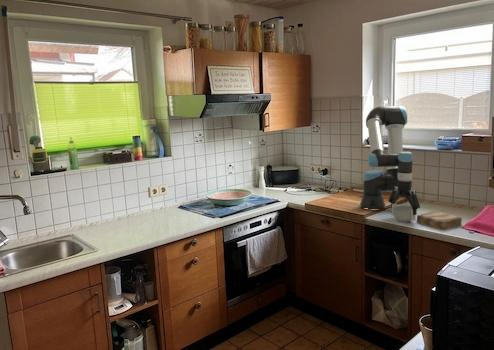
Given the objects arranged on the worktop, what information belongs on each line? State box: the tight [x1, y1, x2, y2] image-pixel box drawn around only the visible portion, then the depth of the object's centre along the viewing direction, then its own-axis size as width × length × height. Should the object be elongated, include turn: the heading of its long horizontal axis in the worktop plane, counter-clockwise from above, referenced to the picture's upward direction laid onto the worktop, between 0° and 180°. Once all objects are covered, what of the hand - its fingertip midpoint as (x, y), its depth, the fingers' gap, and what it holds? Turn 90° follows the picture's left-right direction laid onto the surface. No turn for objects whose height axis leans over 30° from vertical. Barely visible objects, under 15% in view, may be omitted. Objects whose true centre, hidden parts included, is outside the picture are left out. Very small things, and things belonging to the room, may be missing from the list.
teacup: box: [393, 204, 412, 223], centre depth 232 cm, size 14×11×8 cm
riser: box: [416, 210, 463, 231], centre depth 224 cm, size 16×15×4 cm
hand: (403, 217), depth 232 cm, fingers closed on teacup, 12 cm apart
